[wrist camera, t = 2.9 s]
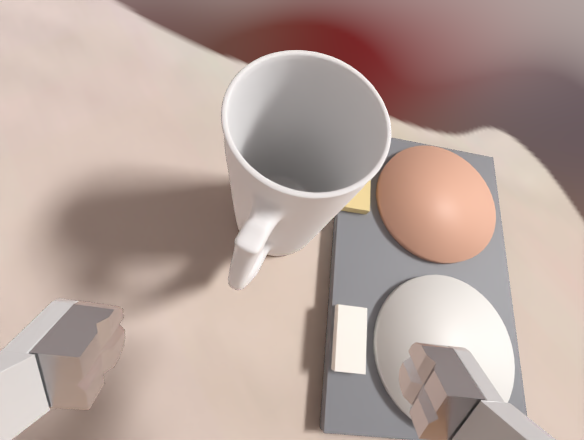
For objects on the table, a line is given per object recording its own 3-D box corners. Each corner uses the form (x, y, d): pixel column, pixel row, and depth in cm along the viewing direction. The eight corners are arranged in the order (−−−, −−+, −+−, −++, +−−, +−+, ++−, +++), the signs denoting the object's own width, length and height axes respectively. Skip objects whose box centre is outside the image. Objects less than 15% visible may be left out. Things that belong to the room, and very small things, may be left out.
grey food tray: (320, 427, 19) (327, 438, 17) (339, 135, 26) (346, 122, 24) (518, 443, 20) (543, 454, 19) (484, 163, 27) (500, 152, 26)
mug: (257, 163, 24) (270, 25, 13) (332, 199, 24) (411, 94, 13) (192, 276, 20) (128, 225, 9) (279, 318, 20) (323, 320, 9)
